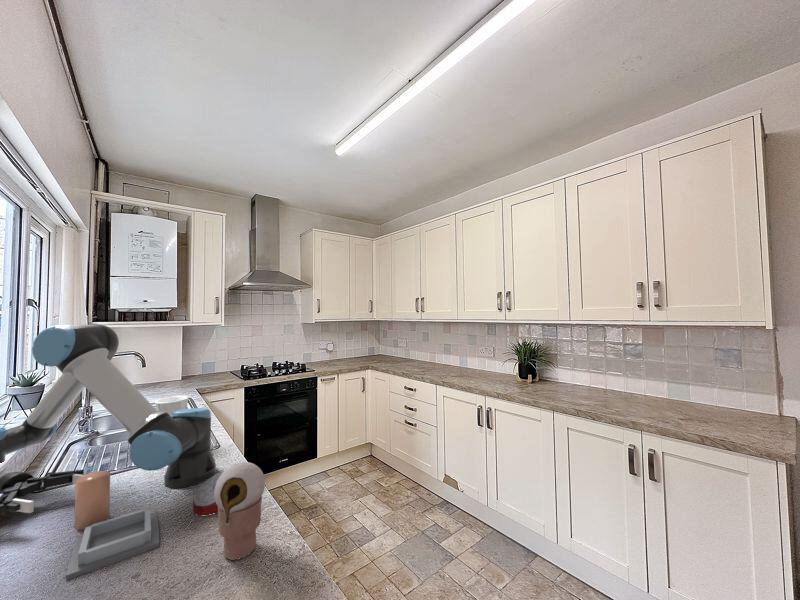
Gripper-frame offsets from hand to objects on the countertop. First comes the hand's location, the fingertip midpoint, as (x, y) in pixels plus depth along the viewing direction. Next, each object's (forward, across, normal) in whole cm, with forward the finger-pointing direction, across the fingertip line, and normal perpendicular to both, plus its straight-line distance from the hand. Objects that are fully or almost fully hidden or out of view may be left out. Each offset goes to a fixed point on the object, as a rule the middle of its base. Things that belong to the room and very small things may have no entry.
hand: (63, 493), depth 92 cm
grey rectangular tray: (+27, +6, -6) cm, 28 cm away
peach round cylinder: (+11, 0, -7) cm, 12 cm away
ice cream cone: (+58, +2, -7) cm, 59 cm away
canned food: (+38, -12, -7) cm, 40 cm away
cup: (-9, -42, -7) cm, 44 cm away
